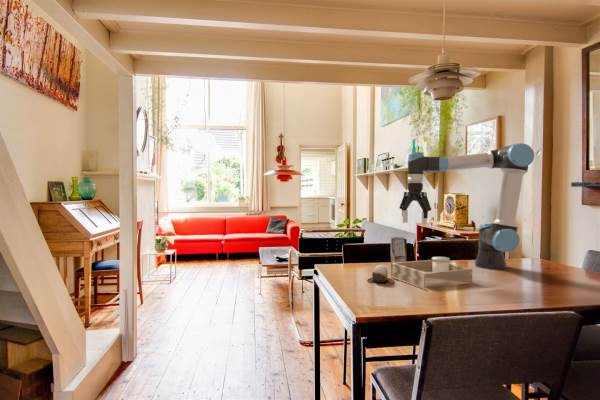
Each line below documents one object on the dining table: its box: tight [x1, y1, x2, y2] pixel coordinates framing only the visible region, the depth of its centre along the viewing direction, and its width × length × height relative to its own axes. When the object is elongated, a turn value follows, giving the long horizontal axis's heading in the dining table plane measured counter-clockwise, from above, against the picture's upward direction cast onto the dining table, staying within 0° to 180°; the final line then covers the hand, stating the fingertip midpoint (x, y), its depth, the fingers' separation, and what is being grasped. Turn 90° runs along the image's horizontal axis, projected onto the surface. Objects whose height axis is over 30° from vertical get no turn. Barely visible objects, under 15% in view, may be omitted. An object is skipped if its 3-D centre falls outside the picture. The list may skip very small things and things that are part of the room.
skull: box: [366, 264, 396, 286], centre depth 166 cm, size 12×10×10 cm
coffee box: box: [390, 236, 408, 264], centre depth 194 cm, size 9×6×16 cm
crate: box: [390, 259, 473, 291], centre depth 166 cm, size 24×24×7 cm
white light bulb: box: [431, 256, 451, 272], centre depth 168 cm, size 8×8×9 cm
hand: (414, 223), depth 191 cm, fingers open, 13 cm apart
